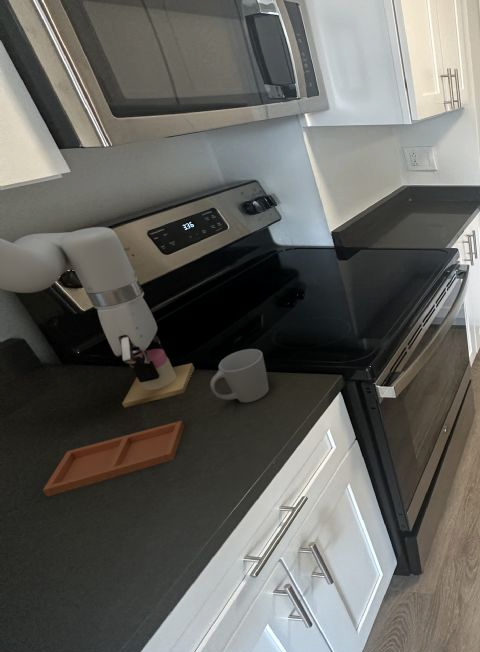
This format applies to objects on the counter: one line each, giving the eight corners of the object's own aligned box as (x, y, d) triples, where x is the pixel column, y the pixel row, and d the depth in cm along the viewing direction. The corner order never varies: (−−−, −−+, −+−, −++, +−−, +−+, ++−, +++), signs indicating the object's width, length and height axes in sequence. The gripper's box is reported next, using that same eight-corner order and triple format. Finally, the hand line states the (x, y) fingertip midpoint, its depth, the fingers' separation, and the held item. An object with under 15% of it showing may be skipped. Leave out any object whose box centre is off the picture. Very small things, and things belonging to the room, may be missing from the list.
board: (125, 409, 85) (121, 403, 84) (140, 381, 93) (137, 375, 92) (185, 394, 88) (182, 388, 88) (194, 368, 96) (192, 362, 96)
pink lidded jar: (139, 393, 87) (126, 367, 84) (147, 377, 91) (135, 352, 88) (172, 385, 89) (160, 359, 86) (178, 370, 93) (167, 345, 90)
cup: (281, 390, 88) (269, 356, 85) (230, 419, 81) (215, 383, 77) (262, 377, 92) (251, 344, 89) (212, 404, 85) (197, 369, 81)
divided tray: (48, 498, 66) (42, 490, 66) (72, 459, 73) (67, 451, 73) (174, 461, 72) (170, 453, 71) (185, 428, 79) (181, 420, 79)
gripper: (108, 280, 87) (144, 354, 95) (71, 318, 72) (118, 401, 80) (153, 273, 89) (185, 345, 97) (125, 308, 75) (166, 389, 83)
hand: (154, 370), depth 89 cm, fingers open, 5 cm apart
